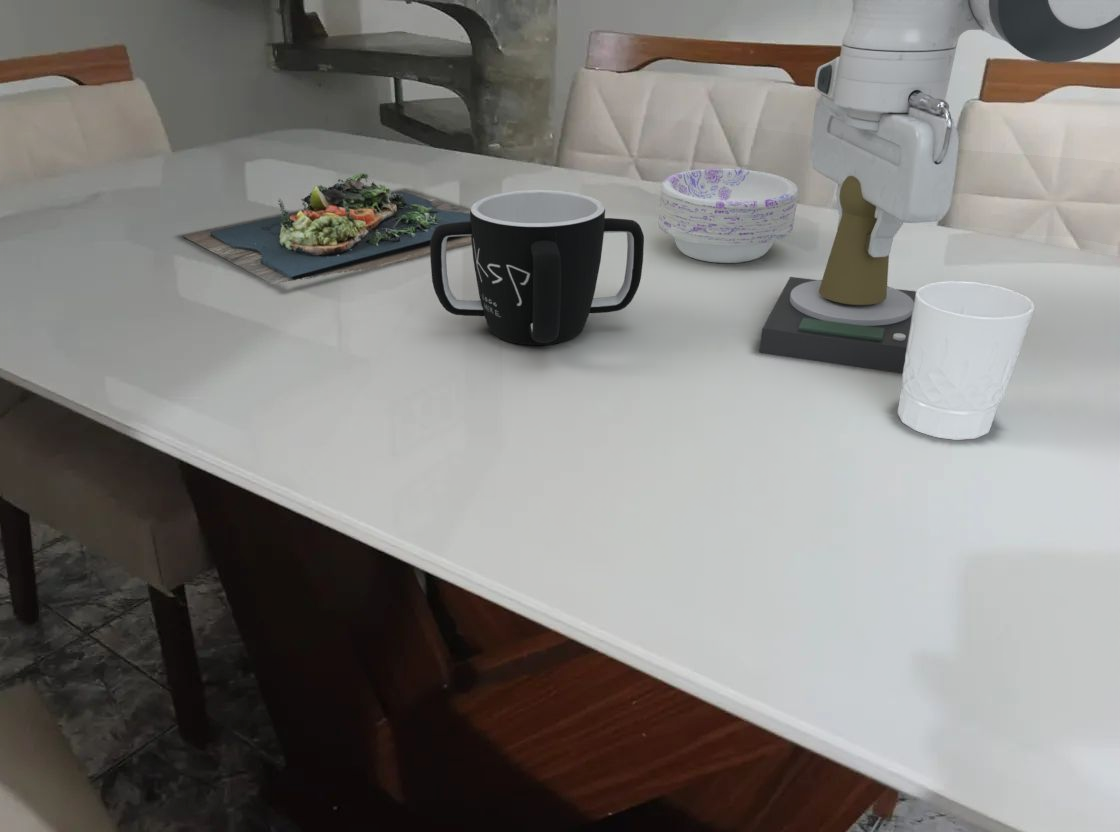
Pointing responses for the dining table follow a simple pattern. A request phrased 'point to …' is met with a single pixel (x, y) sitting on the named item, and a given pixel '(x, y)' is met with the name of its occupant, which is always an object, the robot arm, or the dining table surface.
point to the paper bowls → (726, 212)
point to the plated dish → (336, 233)
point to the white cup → (960, 356)
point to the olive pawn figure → (854, 254)
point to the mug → (537, 263)
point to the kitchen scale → (839, 328)
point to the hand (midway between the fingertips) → (861, 245)
